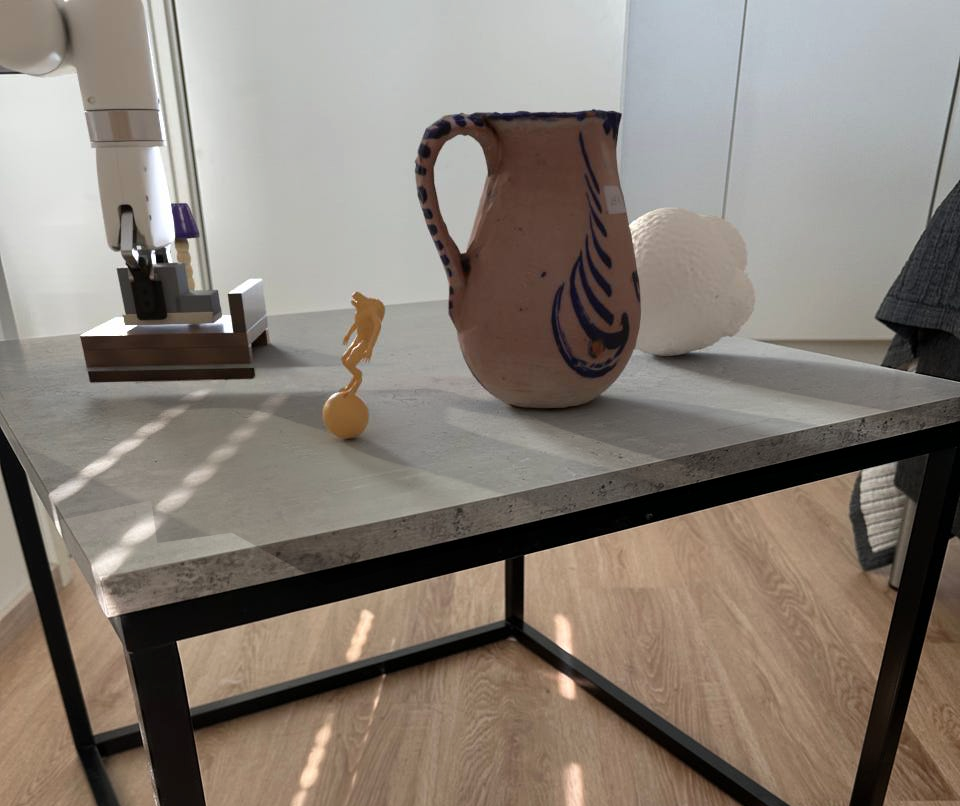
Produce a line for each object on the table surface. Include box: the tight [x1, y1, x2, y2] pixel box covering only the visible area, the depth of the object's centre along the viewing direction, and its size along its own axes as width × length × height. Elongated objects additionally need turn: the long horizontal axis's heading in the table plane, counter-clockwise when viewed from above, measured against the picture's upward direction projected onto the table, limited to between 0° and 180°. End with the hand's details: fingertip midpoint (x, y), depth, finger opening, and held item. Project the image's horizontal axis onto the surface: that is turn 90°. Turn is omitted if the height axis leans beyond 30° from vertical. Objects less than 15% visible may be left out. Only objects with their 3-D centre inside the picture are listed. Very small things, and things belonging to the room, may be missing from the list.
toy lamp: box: [170, 202, 201, 291], centre depth 119 cm, size 5×5×17 cm
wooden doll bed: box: [79, 278, 271, 383], centre depth 105 cm, size 18×12×9 cm, turn 91°
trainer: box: [116, 262, 223, 326], centre depth 103 cm, size 10×4×6 cm, turn 91°
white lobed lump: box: [629, 206, 770, 357], centre depth 107 cm, size 20×18×16 cm
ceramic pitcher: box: [414, 108, 641, 409], centre depth 85 cm, size 18×21×25 cm
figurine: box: [322, 291, 386, 440], centre depth 78 cm, size 8×6×12 cm
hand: (159, 313), depth 104 cm, fingers closed on trainer, 4 cm apart
